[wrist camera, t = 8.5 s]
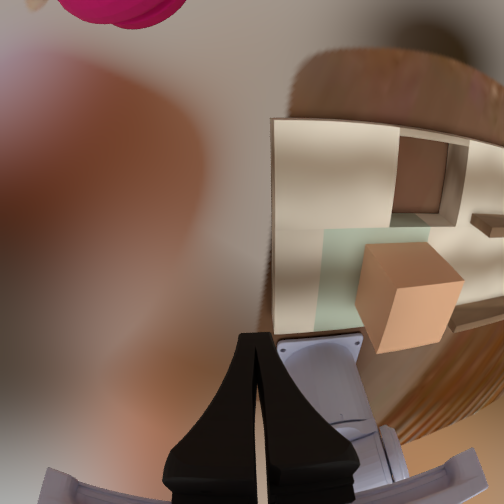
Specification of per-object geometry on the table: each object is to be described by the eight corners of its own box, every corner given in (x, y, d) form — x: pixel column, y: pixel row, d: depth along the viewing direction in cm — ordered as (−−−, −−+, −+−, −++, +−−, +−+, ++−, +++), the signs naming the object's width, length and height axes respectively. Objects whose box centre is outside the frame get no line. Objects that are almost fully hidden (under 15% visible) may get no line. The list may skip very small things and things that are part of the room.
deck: (500, 286, 24) (512, 298, 22) (271, 313, 24) (274, 334, 22) (534, 156, 17) (551, 164, 15) (269, 117, 17) (273, 120, 15)
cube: (411, 298, 21) (439, 341, 16) (354, 304, 21) (376, 354, 16) (426, 241, 18) (464, 280, 14) (365, 243, 18) (397, 288, 14)
